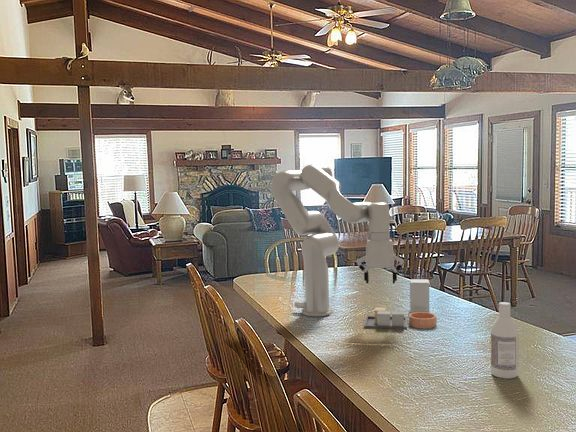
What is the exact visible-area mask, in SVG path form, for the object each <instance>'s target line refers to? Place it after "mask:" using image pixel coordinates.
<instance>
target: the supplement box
mask: <svg viewBox="0 0 576 432" xmlns="http://www.w3.org/2000/svg"><path fill="white" fill-rule="evenodd" d="M409 312H410V313H409V314H411V313H415V312H428V313H430V281H429V279H426V278H425V279H423V278H422V279H418V278H417V279H415V278H414V279H412V278H411V279H410V280H409Z"/></svg>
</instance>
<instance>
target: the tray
mask: <svg viewBox="0 0 576 432" xmlns="http://www.w3.org/2000/svg"><path fill="white" fill-rule="evenodd" d="M363 328H364V329H382V330H383V329H384V330H386V329H387V330H388V329H389V330H390V329H391V330H408V318H407V316H404V326H392V316H390V326H377V324H375V315H366V317H365V320H364V325H363Z"/></svg>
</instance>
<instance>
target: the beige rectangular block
mask: <svg viewBox="0 0 576 432" xmlns="http://www.w3.org/2000/svg"><path fill="white" fill-rule="evenodd" d="M378 311H387V307H378V306H377V307H375V308H374V316H375V324H377V312H378Z"/></svg>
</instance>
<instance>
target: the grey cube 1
mask: <svg viewBox="0 0 576 432" xmlns="http://www.w3.org/2000/svg"><path fill="white" fill-rule="evenodd" d="M390 317H391V311H387V310H386V311H378V312H377V326H390Z"/></svg>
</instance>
